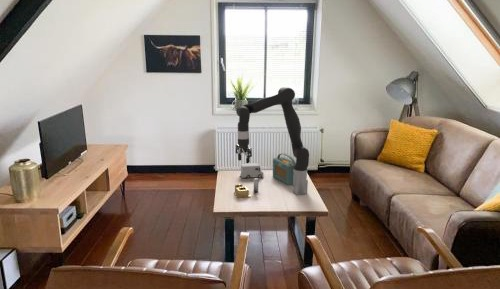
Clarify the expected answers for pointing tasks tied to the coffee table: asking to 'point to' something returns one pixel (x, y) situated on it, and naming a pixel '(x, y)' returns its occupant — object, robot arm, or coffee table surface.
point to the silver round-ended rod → (256, 185)
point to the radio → (284, 169)
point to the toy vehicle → (251, 170)
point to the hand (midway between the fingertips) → (243, 161)
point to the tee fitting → (241, 191)
